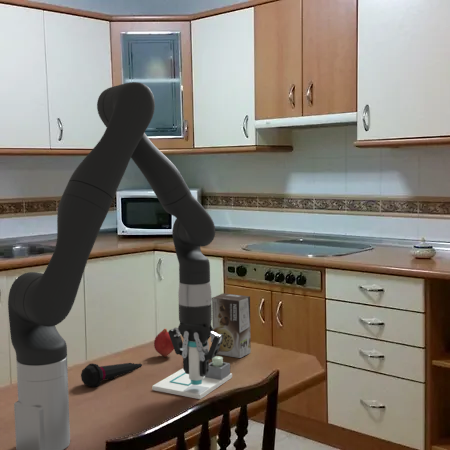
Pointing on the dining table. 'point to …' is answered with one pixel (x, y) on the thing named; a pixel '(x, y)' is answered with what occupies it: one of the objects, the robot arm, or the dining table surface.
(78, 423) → the dining table surface
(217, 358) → the button
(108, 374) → the microphone
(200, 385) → the white flat rectangular panel
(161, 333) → the onion
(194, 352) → the marker
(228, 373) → the button housing
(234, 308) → the coffee box
